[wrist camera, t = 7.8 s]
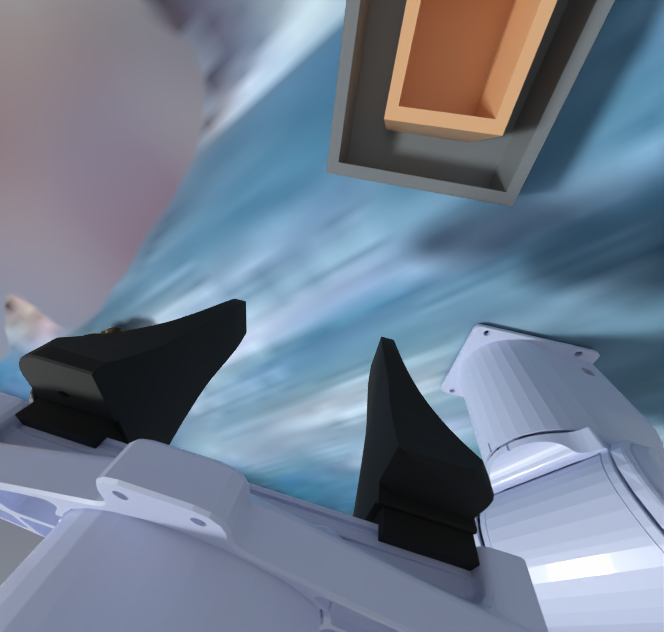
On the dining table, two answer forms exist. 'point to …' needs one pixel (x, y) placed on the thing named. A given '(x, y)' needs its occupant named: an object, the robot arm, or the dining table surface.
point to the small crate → (463, 65)
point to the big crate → (438, 153)
